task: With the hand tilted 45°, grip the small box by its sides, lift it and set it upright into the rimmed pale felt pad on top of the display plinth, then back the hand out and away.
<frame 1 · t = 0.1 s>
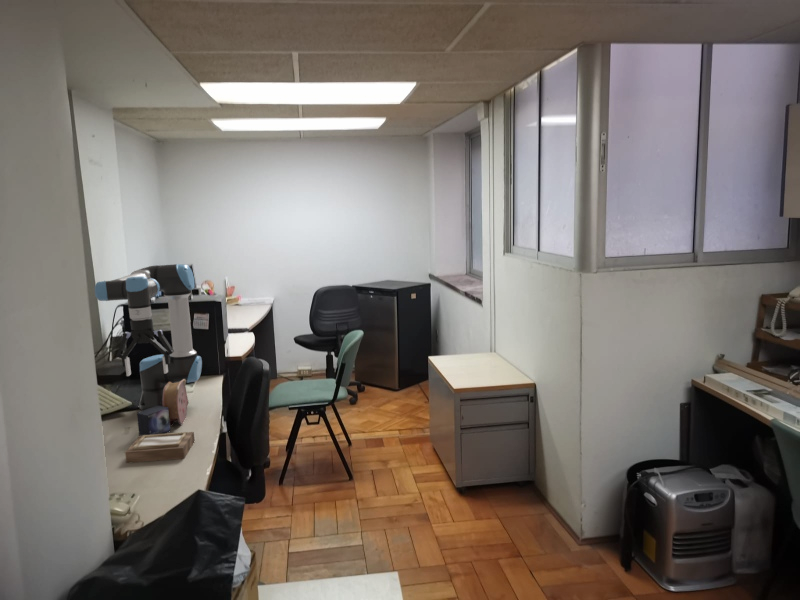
hand: (147, 374, 226), 28 cm above the table, tool pointing down, fingers open, 13 cm apart
small box: (155, 435, 241), on the table
display plinth: (161, 451, 223), on the table
face sculpture: (177, 421, 256), on the table
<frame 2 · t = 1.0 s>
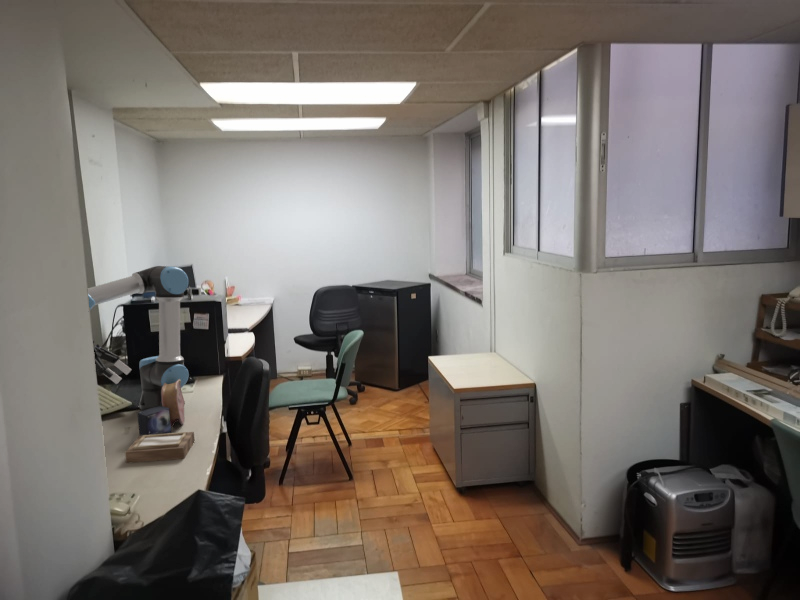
hand: (124, 376, 236), 25 cm above the table, tool tilted 45°, fingers open, 13 cm apart
small box: (155, 435, 240), on the table, touching face sculpture
face sculpture: (177, 422, 255), on the table, touching arm, small box
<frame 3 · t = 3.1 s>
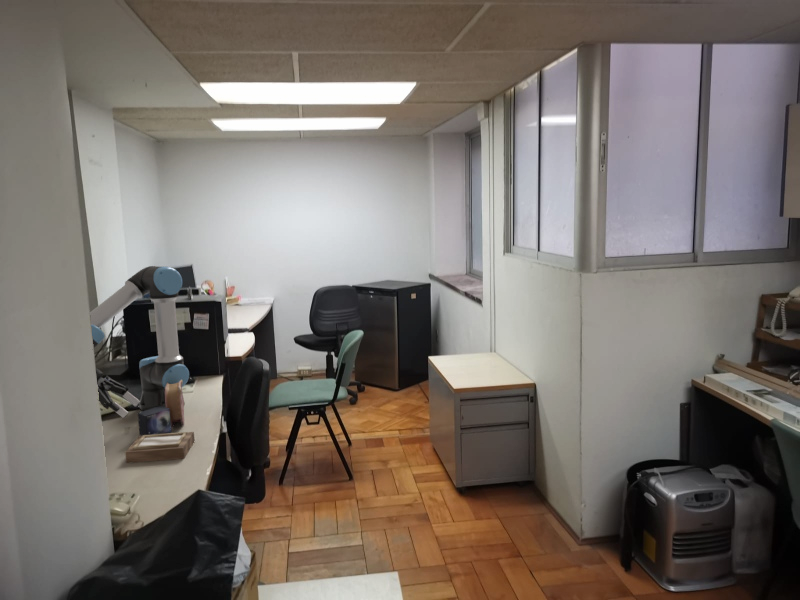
hand: (132, 409, 237), 11 cm above the table, tool tilted 45°, fingers open, 13 cm apart
small box: (156, 436, 240), on the table
face sculpture: (177, 422, 255), on the table
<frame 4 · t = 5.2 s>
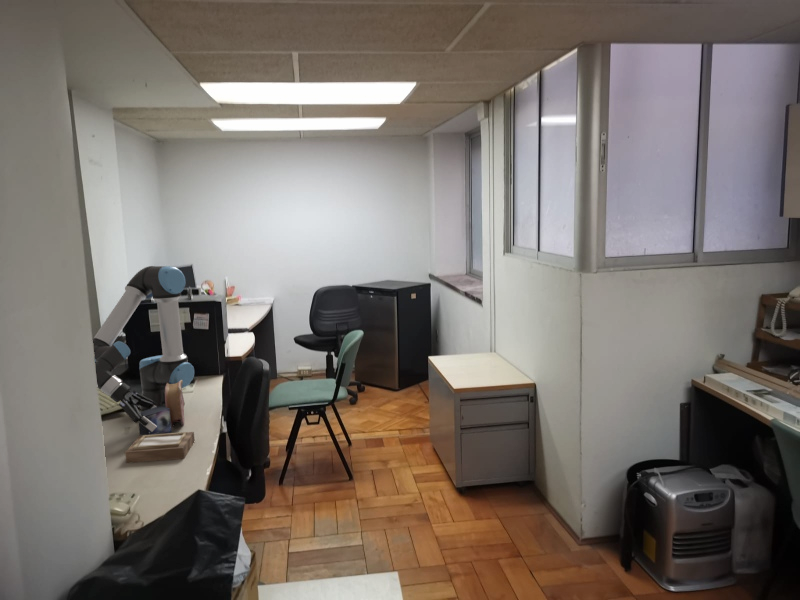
hand: (159, 423, 240), 5 cm above the table, tool tilted 45°, fingers open, 13 cm apart
small box: (156, 435, 240), on the table, touching gripper
everything else where it was.
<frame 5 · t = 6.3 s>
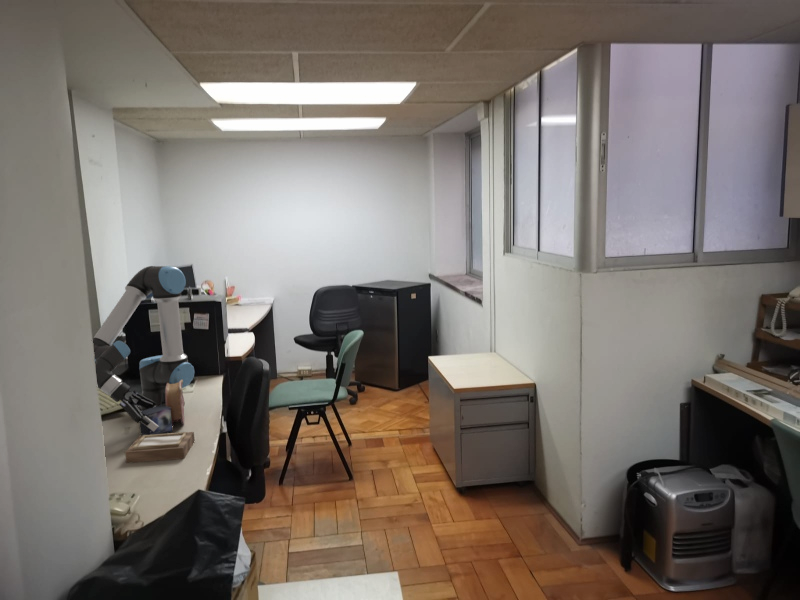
hand: (160, 423, 240), 5 cm above the table, tool tilted 45°, fingers closed on small box, 11 cm apart
small box: (157, 434, 241), on the table, touching gripper
face sculpture: (177, 422, 255), on the table, touching gripper
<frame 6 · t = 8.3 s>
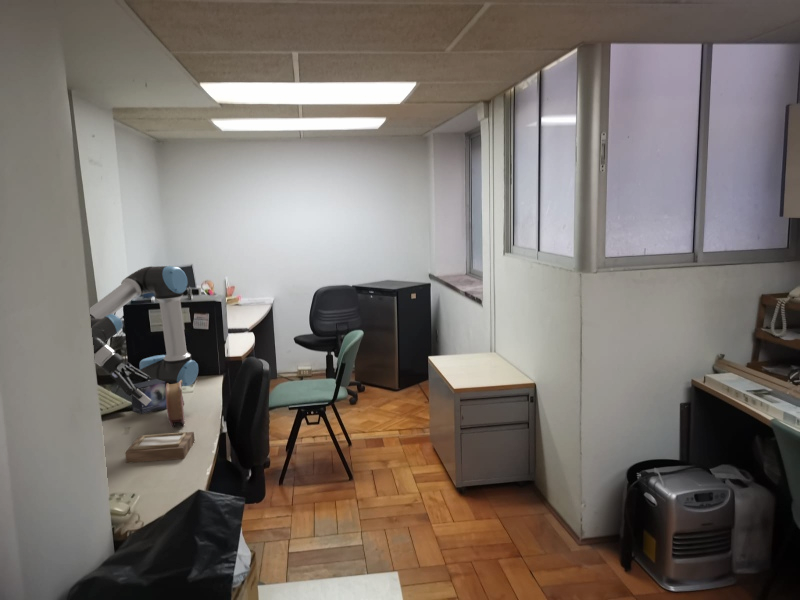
hand: (154, 398, 226), 19 cm above the table, tool tilted 45°, fingers closed on small box, 11 cm apart
small box: (150, 410, 227), point 14 cm above the table, touching gripper
face sculpture: (177, 422, 255), on the table
when the fingers open (10 cm above the table, at t = 11.3 s): small box stays where it is, resting on display plinth.
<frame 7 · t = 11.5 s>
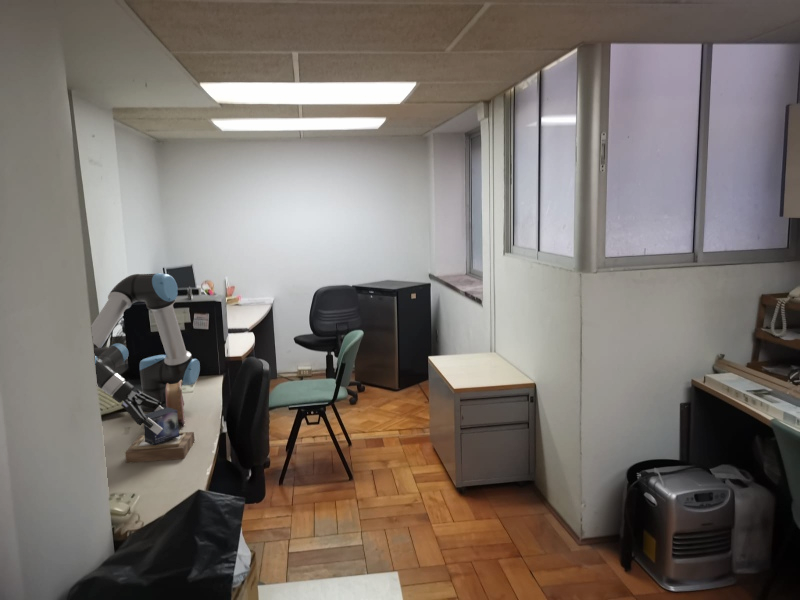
hand: (165, 425, 221), 10 cm above the table, tool tilted 45°, fingers open, 13 cm apart
small box: (162, 440, 222), point 5 cm above the table, touching display plinth
everything else where it was.
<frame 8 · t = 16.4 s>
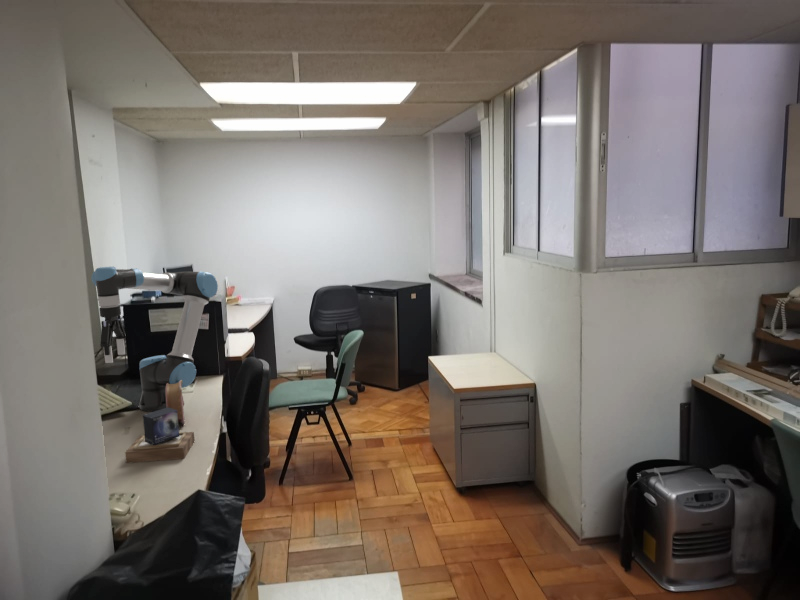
hand: (115, 358, 241), 31 cm above the table, tool pointing down, fingers open, 13 cm apart
nothing on the table moved.
at the end: small box 0.8 cm off-centre on the display plinth, point 4.6 cm above the display plinth's base; small box tilted 0°; the gripper is holding nothing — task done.
